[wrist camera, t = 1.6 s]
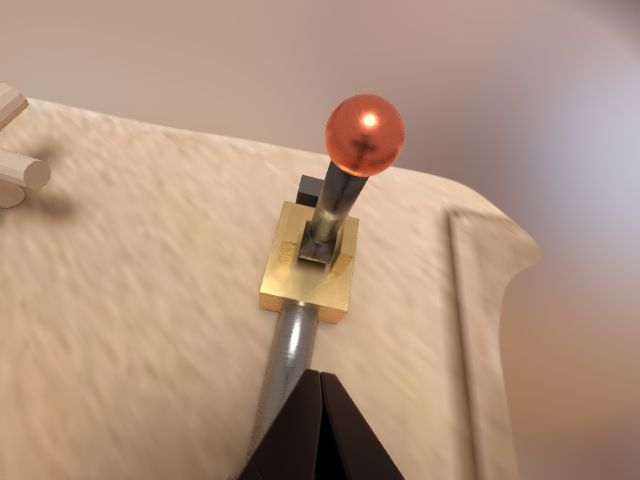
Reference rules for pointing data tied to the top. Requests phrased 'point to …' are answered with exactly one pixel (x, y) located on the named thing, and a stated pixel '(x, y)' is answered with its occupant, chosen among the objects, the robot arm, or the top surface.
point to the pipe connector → (17, 155)
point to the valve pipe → (300, 299)
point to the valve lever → (351, 166)
